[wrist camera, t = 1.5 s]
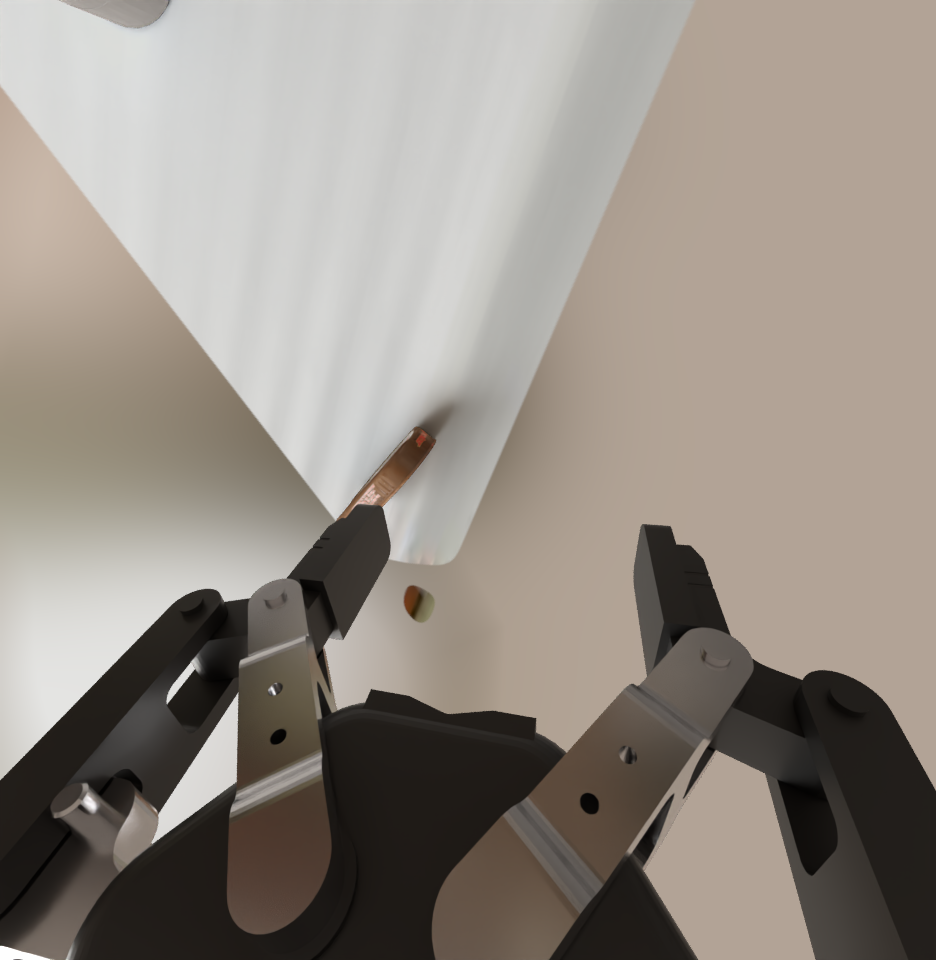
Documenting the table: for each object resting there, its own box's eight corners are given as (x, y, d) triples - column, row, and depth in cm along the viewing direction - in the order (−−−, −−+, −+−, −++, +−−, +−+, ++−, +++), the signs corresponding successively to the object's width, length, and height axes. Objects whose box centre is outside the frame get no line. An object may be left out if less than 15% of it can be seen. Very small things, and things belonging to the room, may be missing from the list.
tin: (372, 506, 53) (346, 552, 46) (351, 491, 52) (322, 536, 46) (445, 428, 46) (426, 469, 39) (422, 409, 45) (399, 448, 38)
